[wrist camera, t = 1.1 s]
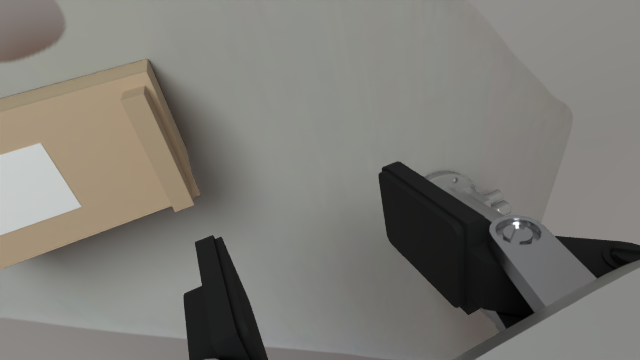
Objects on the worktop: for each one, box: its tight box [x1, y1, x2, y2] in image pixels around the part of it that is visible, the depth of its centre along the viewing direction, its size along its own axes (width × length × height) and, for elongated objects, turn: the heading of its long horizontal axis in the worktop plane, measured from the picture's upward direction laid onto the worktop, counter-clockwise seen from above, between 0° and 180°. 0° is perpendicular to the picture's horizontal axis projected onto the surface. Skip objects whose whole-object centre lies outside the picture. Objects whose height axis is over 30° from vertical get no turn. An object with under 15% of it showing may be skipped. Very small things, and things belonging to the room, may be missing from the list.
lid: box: [0, 70, 200, 269], centre depth 21 cm, size 16×9×3 cm, turn 103°
